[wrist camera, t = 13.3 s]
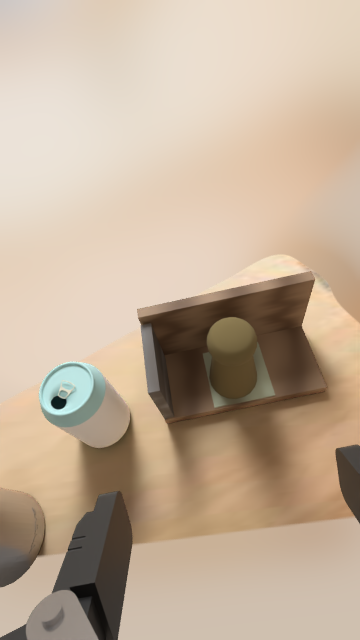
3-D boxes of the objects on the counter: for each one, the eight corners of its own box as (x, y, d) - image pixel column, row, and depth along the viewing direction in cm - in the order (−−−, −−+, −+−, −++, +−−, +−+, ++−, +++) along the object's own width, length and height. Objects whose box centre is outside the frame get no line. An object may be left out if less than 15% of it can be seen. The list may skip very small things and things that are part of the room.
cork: (261, 396, 41) (267, 356, 32) (211, 401, 42) (203, 363, 33) (252, 352, 45) (256, 304, 35) (207, 357, 45) (198, 311, 36)
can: (135, 440, 43) (102, 411, 32) (80, 455, 43) (31, 430, 32) (127, 388, 46) (96, 348, 36) (77, 402, 46) (32, 365, 36)
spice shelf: (167, 423, 43) (146, 391, 33) (157, 354, 48) (137, 309, 39) (324, 391, 42) (349, 348, 33) (296, 324, 48) (311, 271, 38)
